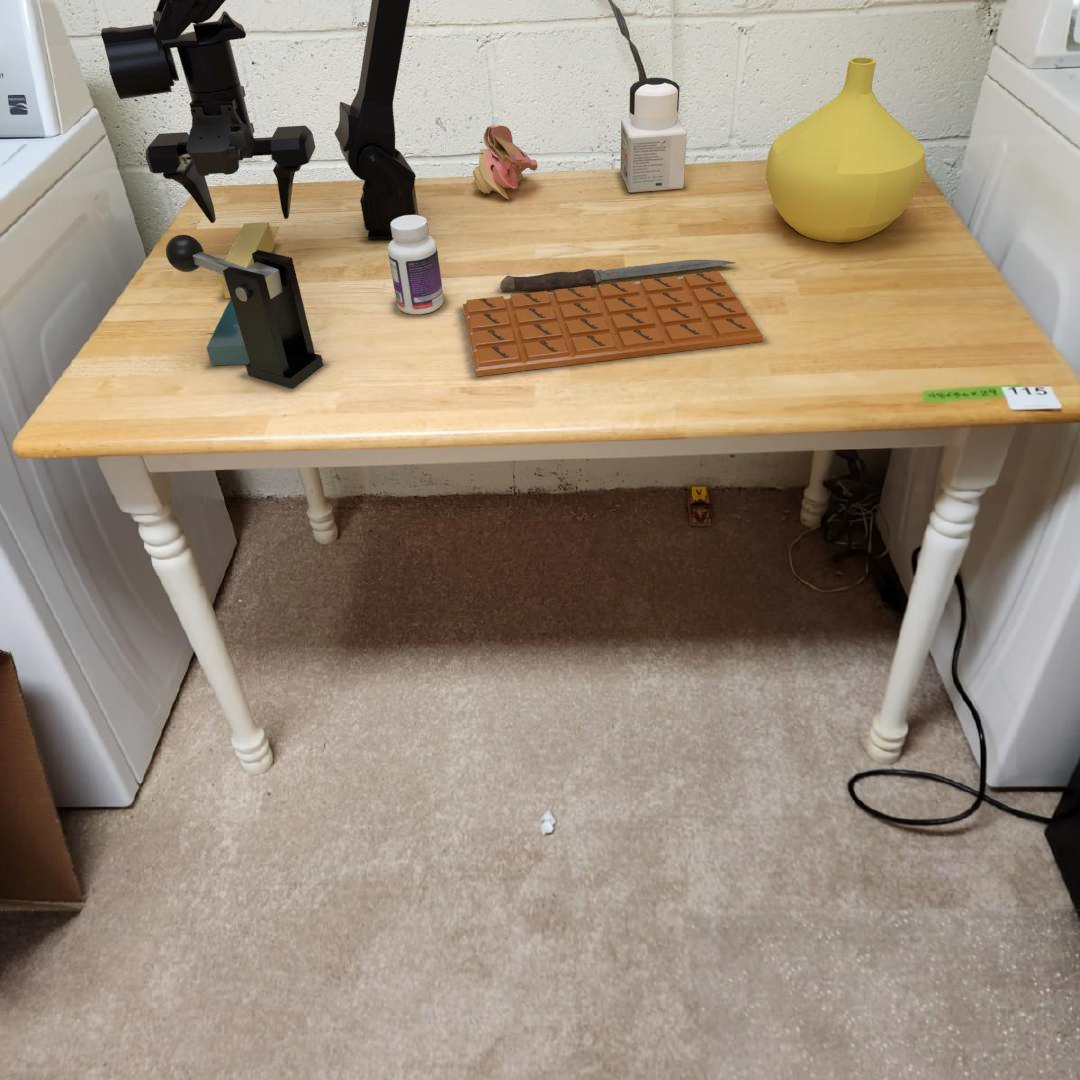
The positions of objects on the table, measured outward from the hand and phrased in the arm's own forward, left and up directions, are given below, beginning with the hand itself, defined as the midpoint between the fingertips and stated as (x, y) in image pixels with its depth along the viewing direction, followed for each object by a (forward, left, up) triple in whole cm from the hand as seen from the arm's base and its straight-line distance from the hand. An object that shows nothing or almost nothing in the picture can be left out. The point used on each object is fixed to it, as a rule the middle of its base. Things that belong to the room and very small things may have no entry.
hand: (250, 219), depth 114 cm
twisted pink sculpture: (-32, -17, -5) cm, 37 cm away
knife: (-45, +12, -5) cm, 47 cm away
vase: (-73, +1, -5) cm, 73 cm away
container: (-52, -17, -5) cm, 55 cm away
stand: (-9, +29, -5) cm, 30 cm away
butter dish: (-3, +20, -5) cm, 20 cm away
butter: (0, +5, -5) cm, 6 cm away
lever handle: (-4, +26, +4) cm, 27 cm away
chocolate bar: (-43, +22, -5) cm, 49 cm away
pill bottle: (-22, +16, -5) cm, 27 cm away
